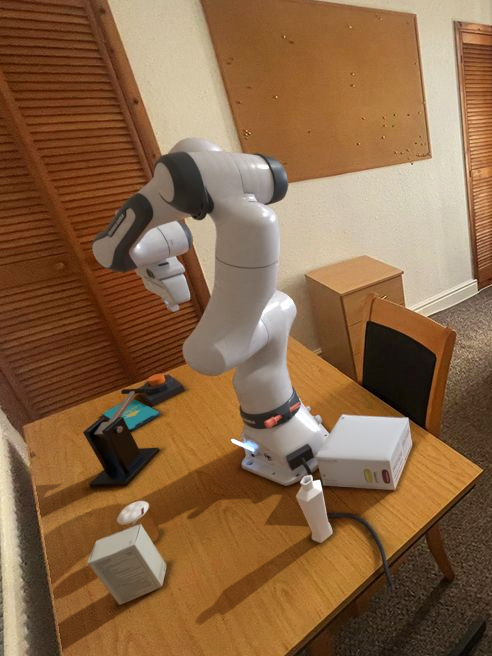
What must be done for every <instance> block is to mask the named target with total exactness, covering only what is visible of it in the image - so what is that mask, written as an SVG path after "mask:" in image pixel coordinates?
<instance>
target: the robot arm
mask: <svg viewBox="0 0 492 656" xmlns="http://www.w3.org/2000/svg"><path fill="white" fill-rule="evenodd" d="M288 190H289V178H288V174H287V171H286V169H285V167H284V166H283V164H281V162H280V161H279V160H278V159H277V158H275V157H273V156H270V155H267V154H262V153H257V152H256V153H245V152H244V153H243V152H234V151H233V152H231V151H224V150H223V149H222V148H221V147H220V146H219V145H218V144H216V143H214V142H213V141H211V140H208V139H206V138H203V137H186V138H183V139H181V140H179V141H178V142H176V143H175V144H174V145H173V146H172V148H171V149H170V150H169V151H168V152H167V153H166V154H165V153H164V154H161V155H160V156H159V157H158V158H157V160H156V161H155V163H154V166H153V177H152V178H151V180H150V181H149V182H148V183H146V184H145V185H144V186H143V187H142V188H141V189H139V190H138V191H137V192H136V193H133V195H132V196H130V197H129V198H128V199H126V201H125V202H124V203H123V204H122V205H121V206H120V208H117V210H115V212H114V213H115V214H114V216H113V218H112V220H111V221H110V222H109V224H108V225H107V227H105V229H104V230H103V231H102V230H101V231H99V232H98V233H97V234H96V235H95V237H94V238H93V240H92V242H91V252H92V255H93V257H94V259H95V261H96V262H97V263H98V264H99V265H100V266H101V267H103V268H104V269H107V270H109V271H113V272H116V273H120V274H121V273H122V274H126V273H129V272H131V271H134V272H135V274H136V275H137V276H139V277H141V280H142V282H143V285H144V287H145V288H146V290H147V291H149V292H151V293H153V294H155V295H157V296H158V297H160V299H162V301H163V303H164V304H165V306H166V308H167V310H169V311H170V312H172V313H173V312H178V311H179V310H180V306H179V305H181V304H184V303H187V302H189V301H190V300H191V293H190V289H189V286H188V282H187V279H186V277H185V275H184V273H185V272H186V269H185V266H184V265H183V264H182V263H181V262H180V261H179V260H178V258H177V256H180V255H183V254H185V253H188V252H190V250H191V248H192V246H193V243H194V237H193V234H192V232H191V229H190V227H189V226H188V224H187V223H185V222H182V220H184V219H188V218H192V219H193V220H195V221H203V220H204V219H205V218H206V217H207V215H208V216H209V217H210V218H211V220H212V222H213V223H214V226H215V244H214V245H215V246H214V279H213V288H212V291H211V294H210V297H209V300H208V302H207V305H206V307H205V309H204V312H203V314H202V316H201V318H200V320H199V322H198V323H197V325H196V326H195V328H194V329H193V331H192V332H191V333H190V335H189V336H188V337H187V338H186V339H185V340H184V342H183V344H182V357H183V359H184V361H185V363H186V365H187V366H188V367H189V368H190V369H191V370H193V371H194V372H196V373H197V374H200V375H203V376H208V377H218V376H221V375H223V374H225V373H227V372H230V371H231V370H234V369H235V370H234V372H233V375H232V387H233V389H234V392H235V396H236V398H237V401H238V404H239V409H238V410H239V415H240V418H241V420H242V422H243V424H244V425H243V428H242V431H241V434H240V438H241V441H238V440H237V439H234V438H232V439H231V442H232V443H233V444H235V445H237V446H240V447H242V448H243V450H244V455H245V457H244V458H243V459H242V461H241V469H243V470H245V471H248V472H250V473H253V474H255V475H258V476H260V477H262V478H265V479H266V480H267V479H268V480H270V481H272V482H274V483H277V484H279V485H283V486H285V487H287V486H290V485H293V484H296V483H298V482H301V480H302V479H303V477H304V476H308V475H312V478H313V481H316V480H315V477H314V475H313V473H314V472H315V471H317V470H319V467H318V464H317V460H316V455H317V453H318V451H319V450H320V448H321V447H322V445H323V444H324V442H325V441H326V439H327V437H328V436H329V434H330V432H328V431H327V429H326V428H325V427H324V426H323V425H322V424H323V419H322V416H321V415H320V414H316V415H312V414H311V413H310V411H312V410H311V409H312V408H311V407H310V405H306V406H305V405H304V404H303V401H302V400H301V398H300V397H299V394H298V392H297V391H296V389H295V387H294V386H293V385H292V382H291V378H290V373H289V368H288V364H287V363H288V361H287V353H288V344H289V337H290V332H291V328H292V326H293V323H294V321H295V320H296V317H297V313H298V312H297V306H296V304H295V302H294V300H293V299H292V298H291V297H290V296H289V295H288V294H287V293H286V292H285V293H284V292H283V291H281V290H278V286H279V274H280V262H281V261H280V260H281V233H280V225H279V219H278V216H277V214H276V212H275V211H274V210H273V209H272V208H271V207H270V206H269V205H273V204H277V203H278V202H281V201H282V200H283V199H285V197H286V196H287V193H288ZM326 513H327V518H350V519H353V520H355V521H357V522H359V523H360V524H361V525H362V526H364V527H365V528H366V529H367V530H368V532H369V533H370V535H371V537H372V538H373V539H374V541H375V543H376V545H377V547H378V549H379V552H380V557H381V563H382V567H383V572H384V574H385V578H386V581H387V585H388V587H393V586H394V582H393V580H392V576H391V572H390V570H389V566H388V560H387V556H386V552H385V549H384V546H383V544H382V543H383V542H381V540H380V537H379V536H378V534H377V532H376V530H375V529H374V528H373V526H372V525H371V524H370V523H369V522H367V520H365V519H364V518H362V517H361V516H359V515H357V514H354V513H351V512H350V513H349V512H335V513H334V512H332V513H331V512H326Z"/></svg>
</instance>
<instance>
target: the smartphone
mask: <svg viewBox="0 0 492 656" xmlns="http://www.w3.org/2000/svg"><path fill="white" fill-rule="evenodd" d="M121 404H122V402H121V403H120V404H117V405H115V406H113V407H112V408H109V409H108V410H106V411H104V412H103V413H102V416H103V418H105V419H106V420H108V421H109V420H110V419H111V417H112V416H113V415H114V413H115V412H116V411H117V409H118V408H119V406H120V405H121ZM160 415H161V412H160V411H158V410H157V409H155V408H153V407H150V406H149V405H147V404H145V403H143V402H141V401H139V400H137V399H136V398H134V399H133V400H132V402H131V403H130V404H129V406H128V407H127V408H126V410H125V411H124V413H123V414H122V415H121V417H123V418H124V420H125V422H126V424H127V426H128V428H129V430H130V432H133V431H135V430H137V429H139V428H140V427H141V426H144V425H145V424H147V423H150V422H151V421H152V420H154V419H156V418H158V417H159V416H160Z"/></svg>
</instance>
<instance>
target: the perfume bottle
mask: <svg viewBox="0 0 492 656" xmlns="http://www.w3.org/2000/svg"><path fill="white" fill-rule="evenodd" d="M321 482H322V481H321V480H320V479H317V480H315V481H313V478H312V475H308V476H304V477H303V479H301V480H300V481H299V483H300V485H301V487H300V488H299V490H298V492H297V493H296V495H295V498H296V500H297V502H298V505H299V507H300V509H301V511H302V513H303V515H304V518H305V520H306V522H307V524H308V527H309V529H310V531H311V540H313V541H314V542H317V543H319V544H322V543H323V542H324V541H326V540H327V539H328V538H329V537H331V535H333V533H334V532H333V529H332V524H331V523H330V522H329V519H328V518H329V517H327V513H328V512H327V508H326V503H325V498H324V492H323V487H322V483H321Z"/></svg>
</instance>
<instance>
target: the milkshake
mask: <svg viewBox="0 0 492 656" xmlns="http://www.w3.org/2000/svg"><path fill="white" fill-rule="evenodd" d="M116 522H117V523H118V525H119V526H121V528H122V530H125V529H128V528H131V527H133V526H136V525H139V524H141V525H142V527H143V528H144V530H145V531H146V533H147V535H148V536H149V538H150V539H151V541H152V542H153V544H154V543H156V541H157V540H158V538H159V536H160V535H159V530H158V528H157V524H156V521H155V520H154V517H153V514H152V510H151V507H150V504H149V502H148V501H145V500H137V501H134V502H131V503H130V504H128V505H126V506H125V507H124V508H123V509H122V510H120V513H119V514H118V516H117V518H116Z"/></svg>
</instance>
